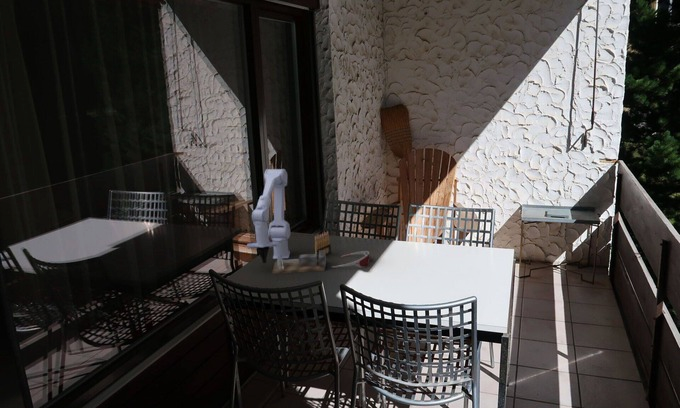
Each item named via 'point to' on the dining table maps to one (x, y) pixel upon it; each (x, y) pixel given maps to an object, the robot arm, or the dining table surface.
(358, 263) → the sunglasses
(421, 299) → the dining table surface
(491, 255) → the dining table surface
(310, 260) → the frame
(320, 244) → the ammunition clip
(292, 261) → the grey angular piece
